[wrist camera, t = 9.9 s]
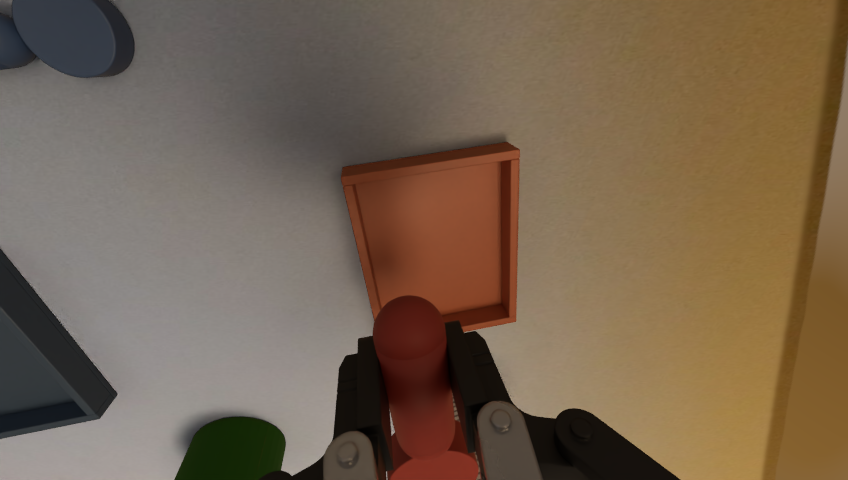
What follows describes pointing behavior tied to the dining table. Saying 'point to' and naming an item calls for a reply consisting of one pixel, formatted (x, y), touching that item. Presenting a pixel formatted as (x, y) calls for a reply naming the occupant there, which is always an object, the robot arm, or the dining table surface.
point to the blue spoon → (66, 37)
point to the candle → (233, 451)
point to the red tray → (440, 231)
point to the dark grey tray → (41, 365)
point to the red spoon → (420, 393)
